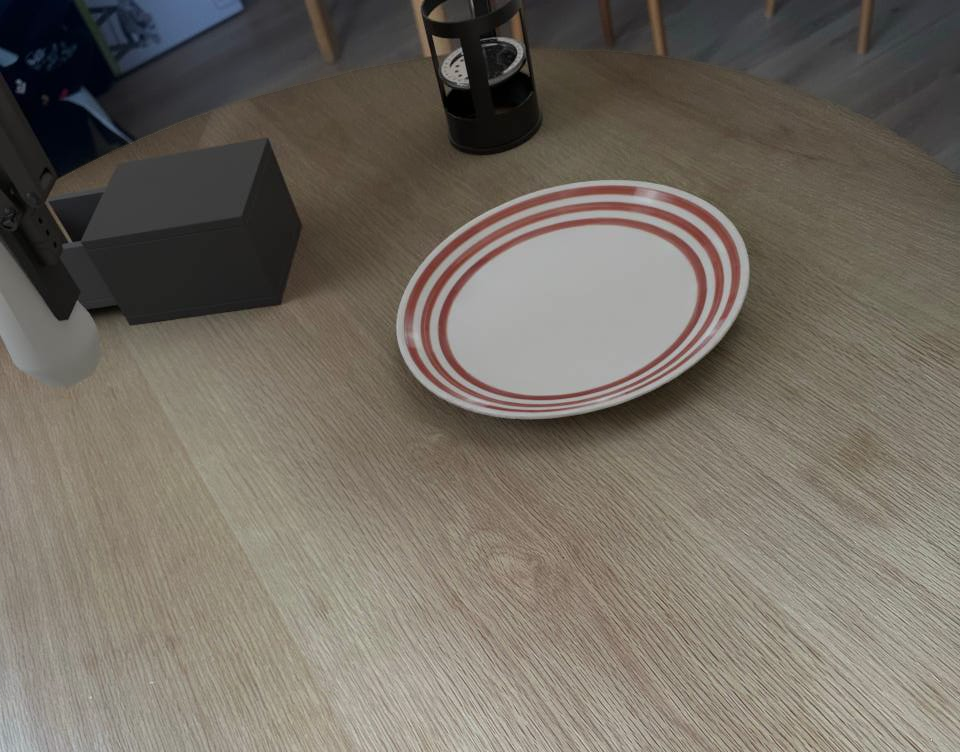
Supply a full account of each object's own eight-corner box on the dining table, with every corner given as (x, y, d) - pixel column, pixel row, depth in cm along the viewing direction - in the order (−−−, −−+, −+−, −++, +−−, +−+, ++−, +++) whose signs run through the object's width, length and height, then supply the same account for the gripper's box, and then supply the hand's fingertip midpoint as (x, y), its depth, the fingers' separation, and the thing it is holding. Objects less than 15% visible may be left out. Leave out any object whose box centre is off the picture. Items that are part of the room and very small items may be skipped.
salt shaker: (81, 402, 66) (-42, 225, 55) (15, 393, 68) (-116, 220, 57) (128, 341, 69) (19, 161, 58) (63, 334, 71) (-54, 159, 60)
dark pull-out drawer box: (-27, 334, 97) (-73, 272, 91) (10, 265, 102) (-32, 202, 97) (165, 307, 92) (128, 240, 87) (191, 236, 98) (158, 170, 93)
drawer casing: (129, 325, 94) (79, 241, 87) (160, 247, 100) (116, 163, 93) (280, 304, 91) (241, 216, 84) (302, 225, 97) (267, 136, 90)
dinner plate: (543, 503, 71) (535, 469, 68) (344, 335, 86) (331, 303, 83) (828, 300, 76) (831, 261, 74) (593, 176, 92) (588, 141, 89)
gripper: (-455, -39, 45) (-107, 366, 64) (-121, -119, 42) (143, 334, 61) (-366, -110, 50) (-63, 290, 68) (-56, -189, 46) (173, 256, 65)
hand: (33, 310), depth 65 cm, fingers closed on salt shaker, 4 cm apart
